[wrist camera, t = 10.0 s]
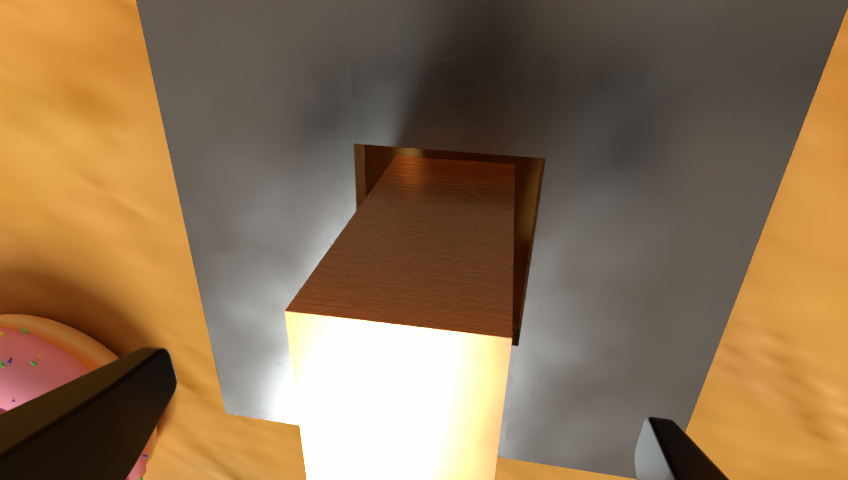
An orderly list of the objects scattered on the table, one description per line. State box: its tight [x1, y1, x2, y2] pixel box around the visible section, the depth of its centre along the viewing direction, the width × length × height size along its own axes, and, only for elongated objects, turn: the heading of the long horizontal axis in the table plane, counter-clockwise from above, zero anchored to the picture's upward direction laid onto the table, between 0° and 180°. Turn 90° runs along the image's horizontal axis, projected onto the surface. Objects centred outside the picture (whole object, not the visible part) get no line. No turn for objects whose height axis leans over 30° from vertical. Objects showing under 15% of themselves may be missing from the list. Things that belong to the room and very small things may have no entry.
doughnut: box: [0, 314, 157, 480], centre depth 23 cm, size 11×11×4 cm
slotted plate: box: [136, 0, 848, 479], centre depth 16 cm, size 16×16×3 cm
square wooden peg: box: [285, 156, 515, 480], centre depth 13 cm, size 4×4×10 cm
